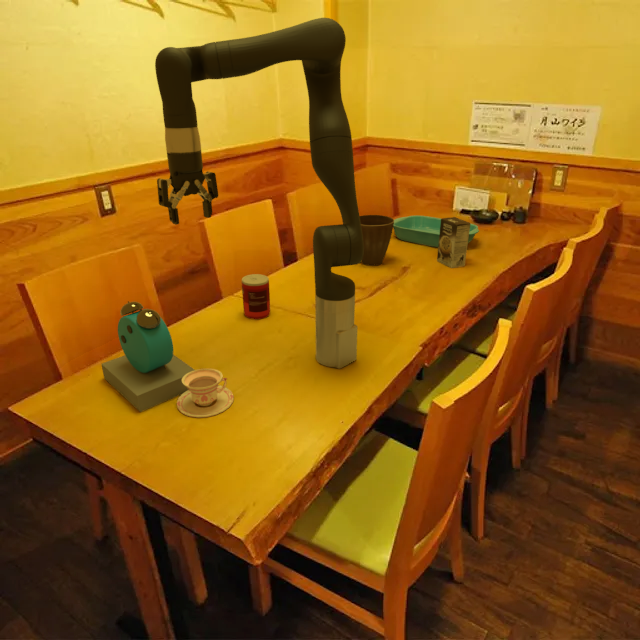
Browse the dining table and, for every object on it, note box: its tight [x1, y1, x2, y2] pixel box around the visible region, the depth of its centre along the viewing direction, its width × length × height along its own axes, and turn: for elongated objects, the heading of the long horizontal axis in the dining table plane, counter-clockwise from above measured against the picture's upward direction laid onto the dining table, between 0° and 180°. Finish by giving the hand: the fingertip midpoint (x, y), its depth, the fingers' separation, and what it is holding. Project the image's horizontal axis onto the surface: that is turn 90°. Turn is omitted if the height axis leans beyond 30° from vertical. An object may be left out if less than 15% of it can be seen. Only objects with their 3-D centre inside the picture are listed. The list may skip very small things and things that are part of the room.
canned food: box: [241, 273, 271, 320], centre depth 149 cm, size 8×8×11 cm
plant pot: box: [359, 214, 395, 267], centre depth 188 cm, size 15×15×16 cm
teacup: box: [176, 368, 235, 418], centre depth 110 cm, size 12×12×6 cm
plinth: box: [100, 354, 196, 413], centre depth 117 cm, size 18×14×4 cm
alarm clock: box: [117, 300, 174, 373], centre depth 113 cm, size 13×6×15 cm, turn 48°
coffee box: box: [436, 216, 471, 269], centre depth 187 cm, size 9×6×16 cm
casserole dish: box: [393, 215, 480, 249], centre depth 215 cm, size 37×22×7 cm, turn 51°
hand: (191, 220), depth 122 cm, fingers open, 8 cm apart
